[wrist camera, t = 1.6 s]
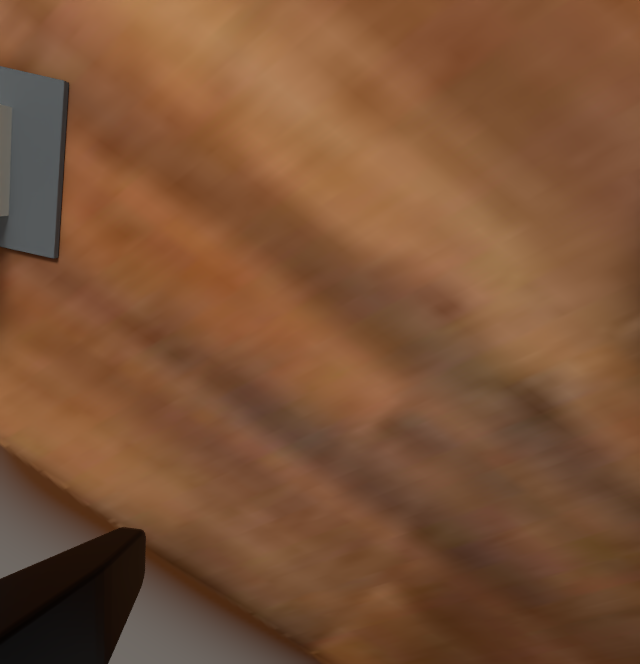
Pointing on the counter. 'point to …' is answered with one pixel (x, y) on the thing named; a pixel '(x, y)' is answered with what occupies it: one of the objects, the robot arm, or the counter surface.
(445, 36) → the counter surface
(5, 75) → the slate mat
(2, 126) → the cream block
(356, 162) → the counter surface
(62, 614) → the robot arm
